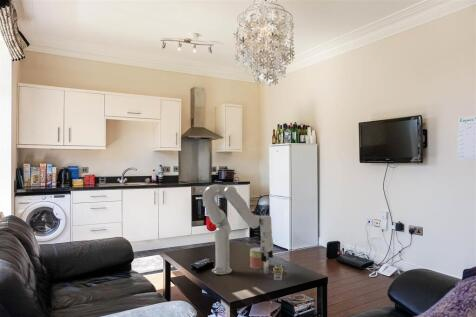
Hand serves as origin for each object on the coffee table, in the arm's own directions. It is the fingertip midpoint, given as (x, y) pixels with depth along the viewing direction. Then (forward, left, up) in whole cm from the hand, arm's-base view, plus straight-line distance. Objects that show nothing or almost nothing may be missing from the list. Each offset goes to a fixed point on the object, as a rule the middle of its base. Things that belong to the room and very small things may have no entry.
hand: (267, 259), depth 218 cm
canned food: (+10, +13, -9) cm, 18 cm away
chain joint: (+4, -6, -9) cm, 12 cm away
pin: (0, +1, -9) cm, 9 cm away
